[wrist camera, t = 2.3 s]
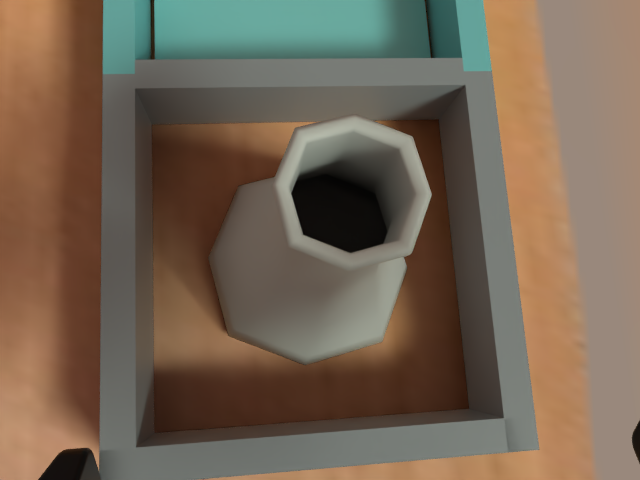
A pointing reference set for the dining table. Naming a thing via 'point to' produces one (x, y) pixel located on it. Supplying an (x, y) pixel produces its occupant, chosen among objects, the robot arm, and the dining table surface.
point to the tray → (306, 106)
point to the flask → (322, 241)
